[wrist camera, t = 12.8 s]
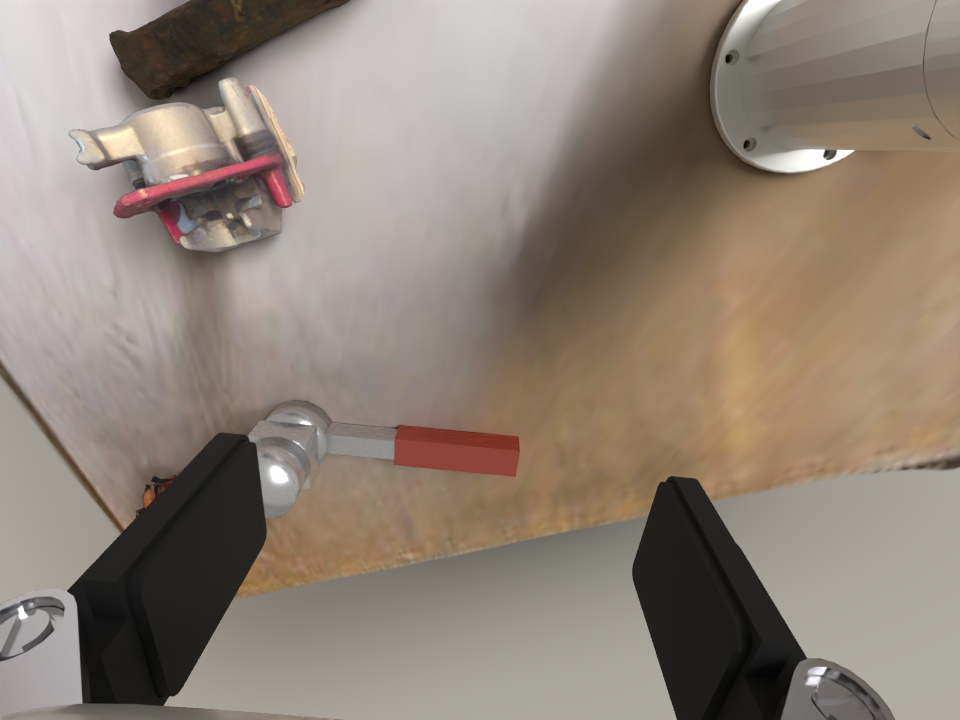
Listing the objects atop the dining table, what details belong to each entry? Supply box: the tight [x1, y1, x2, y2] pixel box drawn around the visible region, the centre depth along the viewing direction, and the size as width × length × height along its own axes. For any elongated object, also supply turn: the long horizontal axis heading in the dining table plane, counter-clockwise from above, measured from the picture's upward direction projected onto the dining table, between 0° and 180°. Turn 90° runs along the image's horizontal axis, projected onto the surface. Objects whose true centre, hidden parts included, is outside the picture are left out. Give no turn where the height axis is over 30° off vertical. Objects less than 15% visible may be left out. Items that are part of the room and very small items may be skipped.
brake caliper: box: [69, 77, 305, 253], centre depth 31 cm, size 11×11×12 cm
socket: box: [247, 420, 319, 519], centre depth 39 cm, size 5×5×6 cm
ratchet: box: [266, 400, 520, 477], centre depth 42 cm, size 23×6×5 cm, turn 84°
